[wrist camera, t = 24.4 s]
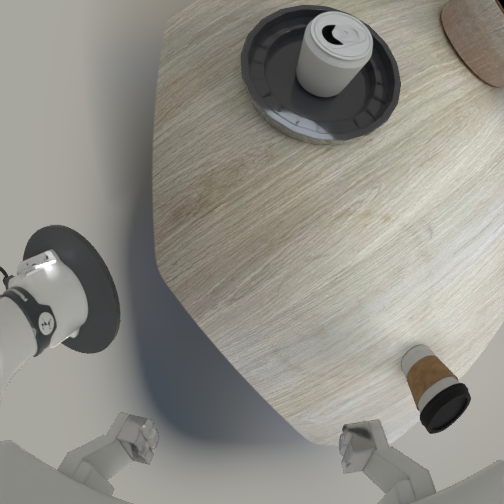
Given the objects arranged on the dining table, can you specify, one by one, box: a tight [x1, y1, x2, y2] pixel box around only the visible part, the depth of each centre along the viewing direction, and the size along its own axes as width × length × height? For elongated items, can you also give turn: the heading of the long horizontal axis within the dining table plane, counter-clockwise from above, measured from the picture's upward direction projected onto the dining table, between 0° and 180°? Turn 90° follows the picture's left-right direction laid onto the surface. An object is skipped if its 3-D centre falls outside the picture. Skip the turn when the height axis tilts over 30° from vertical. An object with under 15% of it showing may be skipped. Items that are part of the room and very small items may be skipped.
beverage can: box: [296, 11, 373, 97], centre depth 22 cm, size 6×6×12 cm
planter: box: [441, 0, 504, 87], centre depth 14 cm, size 18×18×16 cm
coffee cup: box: [401, 345, 471, 434], centre depth 31 cm, size 8×8×15 cm
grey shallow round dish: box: [241, 5, 401, 145], centre depth 26 cm, size 19×19×5 cm
